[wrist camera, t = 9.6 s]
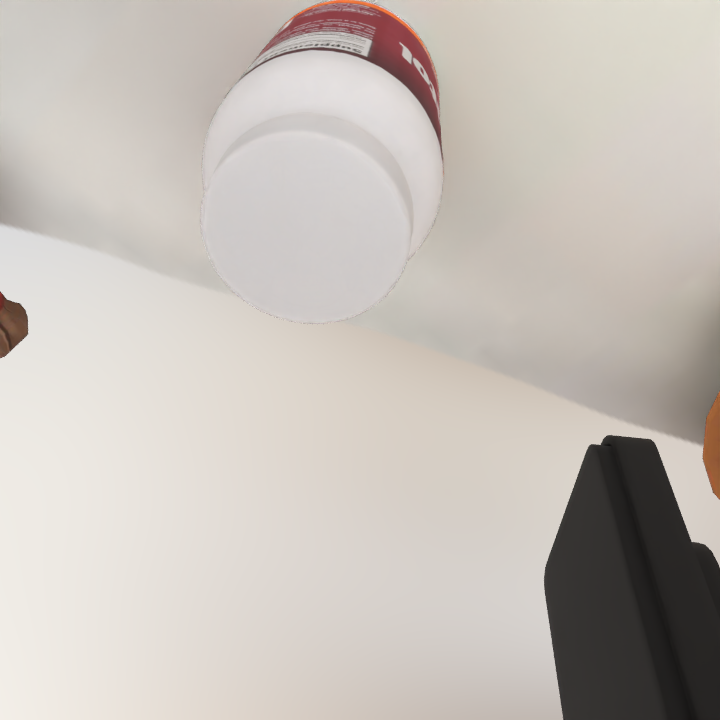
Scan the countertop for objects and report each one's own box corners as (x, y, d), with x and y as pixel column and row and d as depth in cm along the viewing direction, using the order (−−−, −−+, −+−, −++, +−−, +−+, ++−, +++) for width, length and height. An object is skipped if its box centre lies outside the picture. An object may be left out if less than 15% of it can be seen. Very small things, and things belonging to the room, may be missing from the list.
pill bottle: (443, 172, 25) (451, 350, 16) (279, 184, 26) (204, 360, 17) (435, -18, 21) (440, 81, 13) (244, 3, 22) (126, 110, 14)
